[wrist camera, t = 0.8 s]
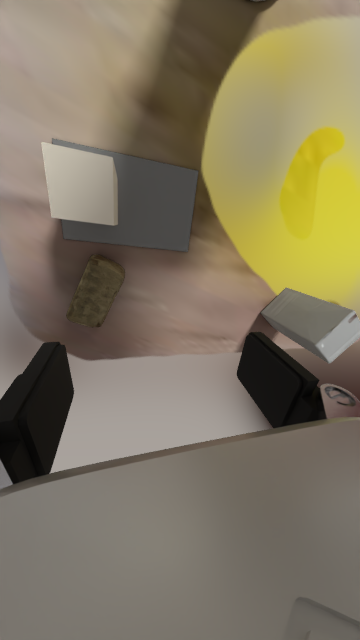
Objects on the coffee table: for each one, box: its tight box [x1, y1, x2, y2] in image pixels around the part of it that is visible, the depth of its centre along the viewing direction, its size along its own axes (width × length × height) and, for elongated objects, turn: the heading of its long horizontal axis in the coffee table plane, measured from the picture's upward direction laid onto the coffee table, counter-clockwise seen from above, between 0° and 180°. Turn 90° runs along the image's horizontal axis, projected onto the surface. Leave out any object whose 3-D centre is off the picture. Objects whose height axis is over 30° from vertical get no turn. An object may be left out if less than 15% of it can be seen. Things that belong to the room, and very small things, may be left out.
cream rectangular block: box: [41, 142, 118, 226], centre depth 24 cm, size 6×6×11 cm
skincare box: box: [261, 288, 360, 363], centre depth 39 cm, size 8×7×16 cm
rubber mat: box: [52, 138, 198, 252], centre depth 30 cm, size 12×20×1 cm, turn 83°
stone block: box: [66, 255, 125, 327], centre depth 33 cm, size 6×12×5 cm, turn 150°
